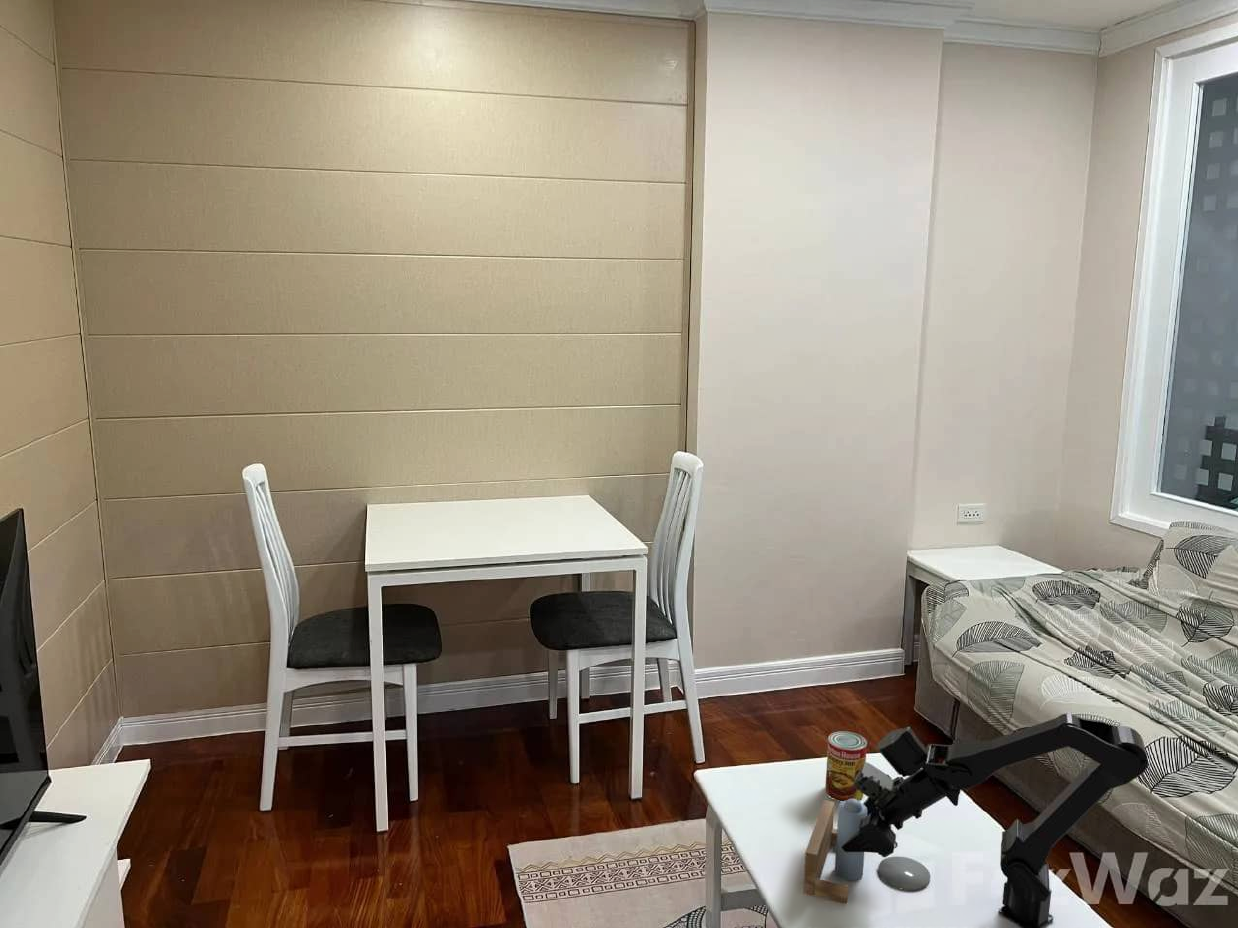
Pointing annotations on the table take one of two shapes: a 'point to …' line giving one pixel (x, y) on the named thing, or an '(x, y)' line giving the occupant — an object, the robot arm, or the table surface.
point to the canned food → (844, 765)
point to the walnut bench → (822, 858)
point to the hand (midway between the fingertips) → (847, 835)
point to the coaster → (904, 873)
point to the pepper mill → (848, 825)
